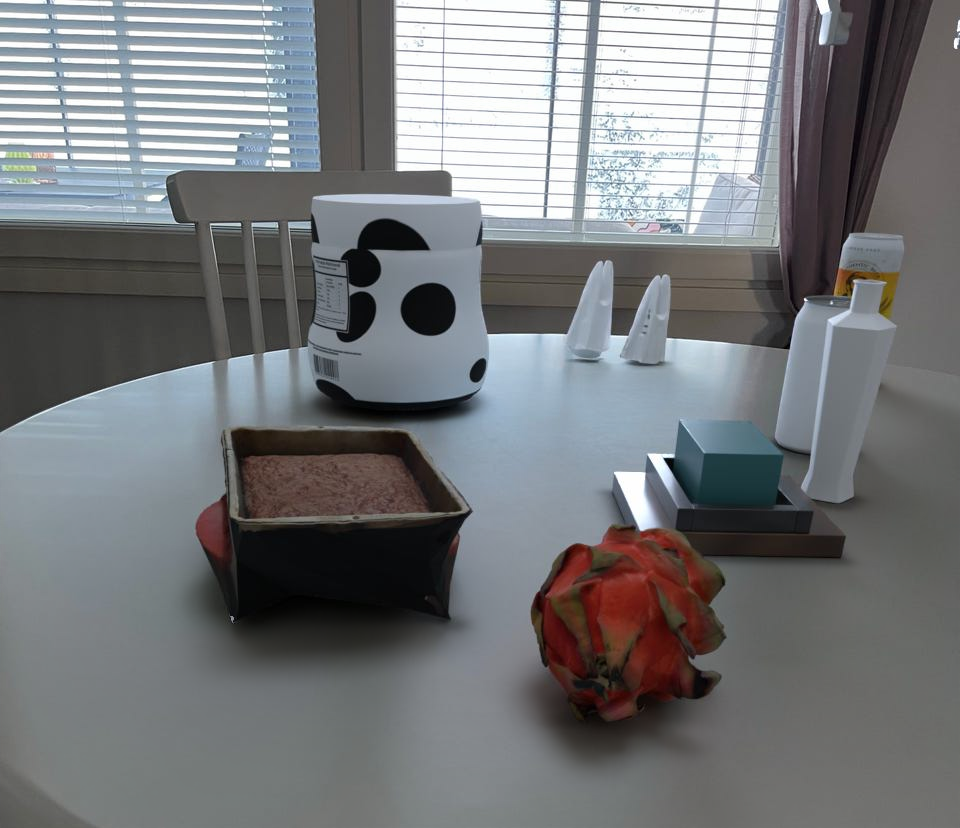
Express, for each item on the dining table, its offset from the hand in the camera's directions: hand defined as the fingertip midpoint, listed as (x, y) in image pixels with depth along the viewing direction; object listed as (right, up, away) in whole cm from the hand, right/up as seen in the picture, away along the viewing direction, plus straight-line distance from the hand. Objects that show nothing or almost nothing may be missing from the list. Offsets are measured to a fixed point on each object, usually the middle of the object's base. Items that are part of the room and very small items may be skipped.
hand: (900, 47), depth 64 cm
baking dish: (-37, -38, -10) cm, 54 cm away
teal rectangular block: (-13, -31, 0) cm, 34 cm away
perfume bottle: (-3, -30, +6) cm, 31 cm away
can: (0, -24, +17) cm, 30 cm away
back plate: (-12, -33, 0) cm, 35 cm away
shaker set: (-13, -8, +47) cm, 49 cm away
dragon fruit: (-22, -43, -20) cm, 53 cm away
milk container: (-37, -17, +28) cm, 49 cm away
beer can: (+12, -12, +41) cm, 44 cm away
